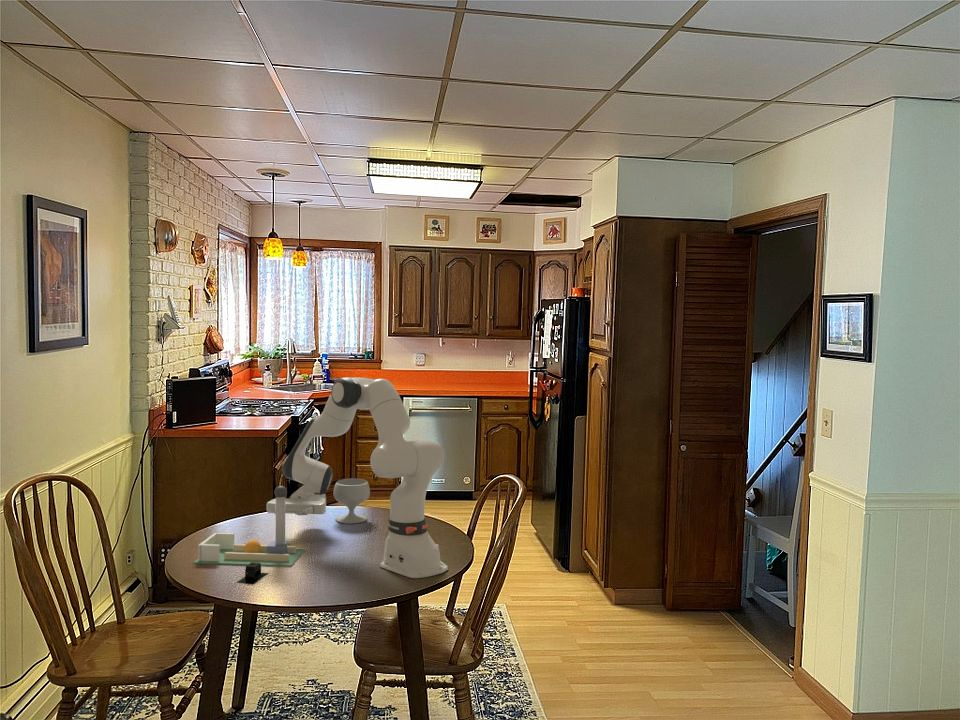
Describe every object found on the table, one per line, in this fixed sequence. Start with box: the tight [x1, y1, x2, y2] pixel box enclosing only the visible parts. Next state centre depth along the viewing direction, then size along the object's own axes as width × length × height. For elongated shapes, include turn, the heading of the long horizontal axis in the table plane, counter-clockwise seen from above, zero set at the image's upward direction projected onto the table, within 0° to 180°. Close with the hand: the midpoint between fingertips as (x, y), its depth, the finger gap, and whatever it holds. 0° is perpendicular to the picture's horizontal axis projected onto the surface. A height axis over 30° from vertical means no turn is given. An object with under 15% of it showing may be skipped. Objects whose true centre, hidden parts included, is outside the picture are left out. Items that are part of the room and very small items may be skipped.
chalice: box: [332, 477, 371, 525], centre depth 273 cm, size 14×14×15 cm
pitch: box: [192, 548, 306, 568], centre depth 229 cm, size 31×16×1 cm, turn 88°
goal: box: [197, 532, 298, 561], centre depth 229 cm, size 28×13×5 cm, turn 88°
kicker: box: [267, 485, 288, 554], centre depth 229 cm, size 6×5×22 cm
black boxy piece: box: [236, 562, 269, 585], centre depth 211 cm, size 12×7×5 cm, turn 168°
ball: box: [245, 539, 262, 553], centre depth 229 cm, size 5×5×5 cm
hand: (290, 512), depth 239 cm, fingers open, 8 cm apart
